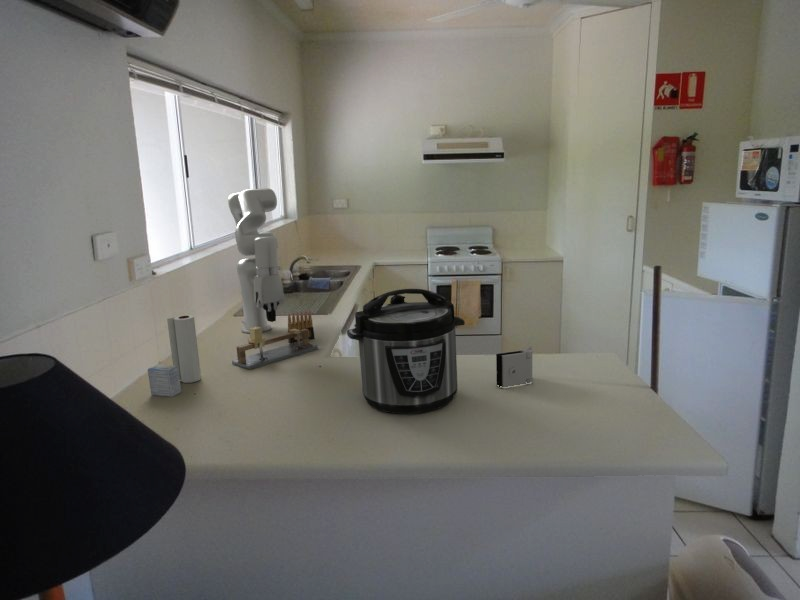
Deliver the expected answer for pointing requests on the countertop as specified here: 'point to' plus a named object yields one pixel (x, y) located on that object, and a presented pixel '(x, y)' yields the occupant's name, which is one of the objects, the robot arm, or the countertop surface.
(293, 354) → the bolt-hole plate
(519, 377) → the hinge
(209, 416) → the countertop surface
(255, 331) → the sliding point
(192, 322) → the paper towel roll
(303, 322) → the ammunition clip
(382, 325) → the pressure cooker
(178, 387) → the pale blue-grey upright block
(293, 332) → the bar
